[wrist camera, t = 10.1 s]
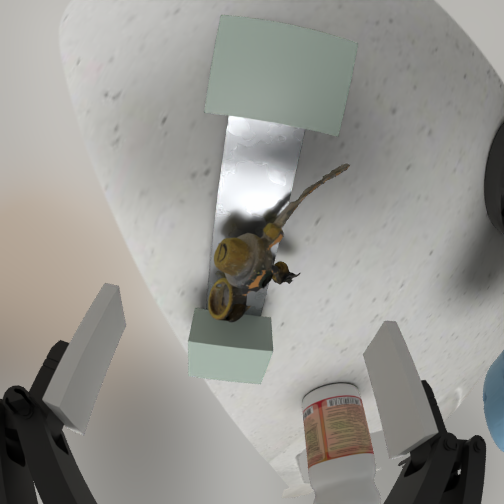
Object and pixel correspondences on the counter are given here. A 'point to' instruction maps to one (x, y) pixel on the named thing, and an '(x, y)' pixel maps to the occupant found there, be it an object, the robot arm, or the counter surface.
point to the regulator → (252, 263)
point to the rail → (253, 186)
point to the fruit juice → (339, 446)
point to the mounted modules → (277, 111)
